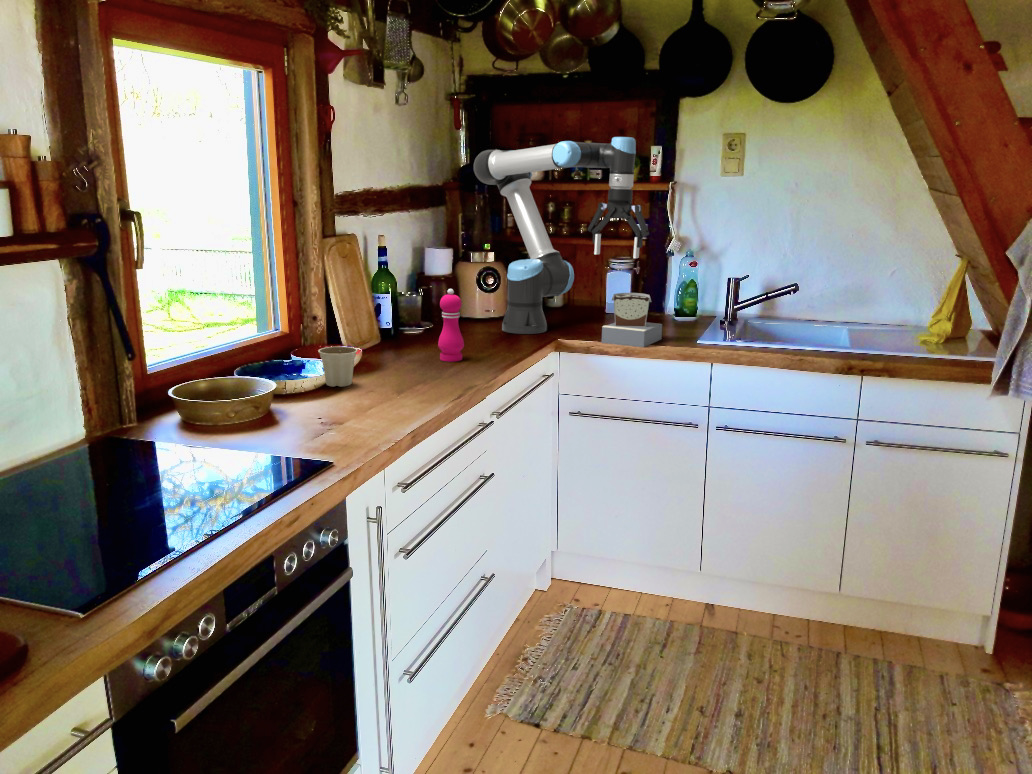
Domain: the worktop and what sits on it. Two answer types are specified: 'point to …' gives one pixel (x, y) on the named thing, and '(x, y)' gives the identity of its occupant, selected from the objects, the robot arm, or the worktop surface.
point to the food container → (631, 309)
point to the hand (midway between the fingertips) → (616, 256)
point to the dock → (632, 334)
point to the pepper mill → (450, 328)
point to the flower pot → (338, 365)
